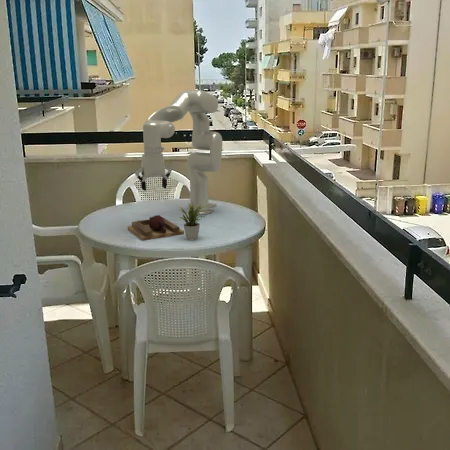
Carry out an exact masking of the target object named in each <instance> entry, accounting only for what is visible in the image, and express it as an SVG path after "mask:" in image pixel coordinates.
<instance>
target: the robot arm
mask: <svg viewBox="0 0 450 450" xmlns="http://www.w3.org/2000/svg"><path fill="white" fill-rule="evenodd" d="M218 100H219V99H217V97H216V96H215V95H213V94H211V93H209V92H207V91H205V90H201V89H184V90H181V91H180V92H179V93H178V95H177V96H176V97H175V98H174V99H173V100H172V102H170V104H169V105H167V106H164V107H163V108H160V109H158V110H156V111H155V112H153V113H151V115H150V116H149V117H148V118H147V119H146V120H145V122H144V123H143V125H142V132H143V133H142V135H143V137H142V138H143V153H142V155H141V162H140V163H141V165H140V166H141V167H140V168H139V169H137V170H136V171H135V172H134V175H135V176H136V178H137V179H138V180H139V181H140V187H141V188H140V189H142V191H144V192H145V191H147V183H146V180H147V178H154V177H162V179H161V186H162V188H163V189H167V186H168V178H169V177H170V176H171V174H172V170H173V168H170V167H168V166H167V165H166V163H165V159H164V158H165V157H164V154H163V151H165V148H164V147H163V146H162V141H161V140H162V138H163V139H168V138H171V137H172V136H174V134H175V132H176V129H175V128H176V127H175V125H174V122H178V121H181V120H182V119H183V118H184V117H185V116H186V114H187V113H189V114H190V116H191V118H192V136H191V145H192V148H194V149H195V150H199V152H198V151H197V152H196V151H195V152H194V151H193V152H191V153H190V154H188V157H187V161H186V163H187V167H188V173H189V196H190V198H189V199H190V201H189V204H191V206H192V203H193V205H194V209H195V210H196V208H198V206H199V205H201V204H202V205H201V206H202V207H203V208H202V207H200V208H202V209H201V210H200V209H199V210H200V211H201V212H200V211H199V210H198V211H199V213H198V214H199V215H198V214H197V215H198V216H203V215H207V214H208V215H209V214H210V212H211V213H212V208H217V207H218V206H217V203H210V202H209V178H208V175H207V173H206V172H208V173H216V172H217V173H218V171H219V170H220V169H221V166H222V165H221V164H222V155H223V154H222V153H223V137H222V134H220V133H219V132H217V131H210V119H209V117H208V115H207V114H213V113H216V112H217V111H218V108H219V101H218ZM200 150H201V152H200ZM202 151H209V152H202ZM166 171H167V172H166ZM140 174H141V175H140ZM204 206H206V207H204ZM195 210H194V212H195ZM202 210H203V211H202ZM188 212H189V208H188V209H187V213H188ZM202 214H203V215H202Z"/></svg>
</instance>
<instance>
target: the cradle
mask: <svg viewBox="0 0 450 450" xmlns="http://www.w3.org/2000/svg"><path fill="white" fill-rule="evenodd" d="M163 219H164V221H165V224H164V228H165V229H166V232H165V233H164V232H163V231H162V230H161V229H160V230H155V229H152V228H151V227H150V225H149V222H150V219H143V220H142V219H141V220H137V221H132V222H131V225H129V226H127V231H129V232H130V233H132V234H133V235H134V236H135V237H137V238H138V239H139V240H140V241H142V242H143V241H149V240H156V239H161V238H163V239H164V238H170V237H175V236H182V235H184V234H185V230H183V229H182V228H180V226H178V225H177V224H175V223H173V222H171V221H170V220H168V219H167V218H165V217H163Z"/></svg>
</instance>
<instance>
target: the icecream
mask: <svg viewBox="0 0 450 450" xmlns="http://www.w3.org/2000/svg"><path fill="white" fill-rule="evenodd" d="M163 218H164V217H163V216H161V215H157V214H156V215H154V216H150V217H149V219H150V222H149V225H150V227H151V228H152V229H155V230H160V229H161V230H162V231H163V232H164V233H165V232H166V229H165V228H164V224H165V221H164V219H163Z"/></svg>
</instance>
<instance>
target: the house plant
mask: <svg viewBox="0 0 450 450" xmlns="http://www.w3.org/2000/svg"><path fill="white" fill-rule="evenodd" d="M188 205H189V206H188V209H189V212H188V211H187V212H186V211H185V210H184V208H182V207H181V206H180V205H178V207H179V208H180V210H181V212H182V216H180V217H179V218H180V220H183V221H184V222H185V223H184V224H183V228H184V234H185V238H187V239H186V240H189V239H194V240H197V239H198V238H199V232H200V225H201V224H200V223H199V222H200V220H201V219H202V218H205V215H199V214H198V213H199V211H200V210H201V209H202V208H203V207H202V206H201V205H202V204H201V205H199V206H198V208H196V210H195V209H194V205H193V203H192V206H191V204H190V203H188ZM200 207H202V208H200ZM204 207H206V206H204ZM199 209H200V210H199ZM194 210H195V212H194ZM198 210H199V211H198ZM202 211H203V210H202ZM200 212H201V211H200ZM187 213H188V214H187ZM197 214H198V215H197ZM196 238H197V239H196Z"/></svg>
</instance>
